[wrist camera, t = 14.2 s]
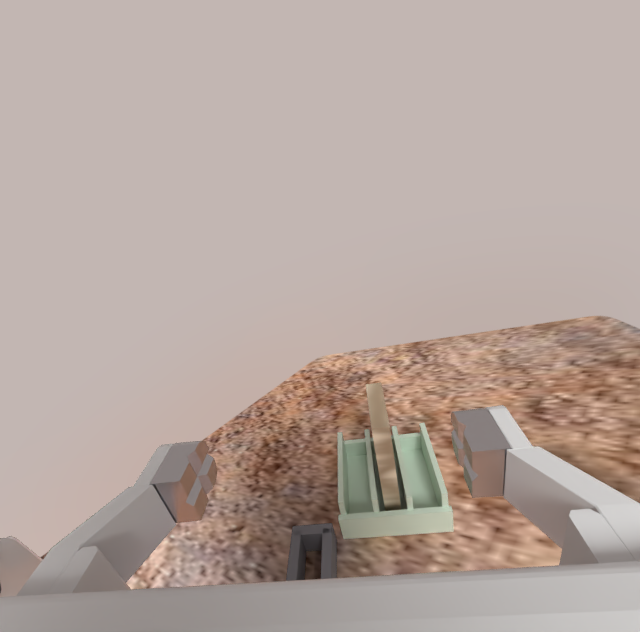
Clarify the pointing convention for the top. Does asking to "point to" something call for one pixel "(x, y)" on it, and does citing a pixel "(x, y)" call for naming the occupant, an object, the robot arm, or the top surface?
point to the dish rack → (413, 483)
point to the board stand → (312, 540)
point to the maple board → (383, 446)
